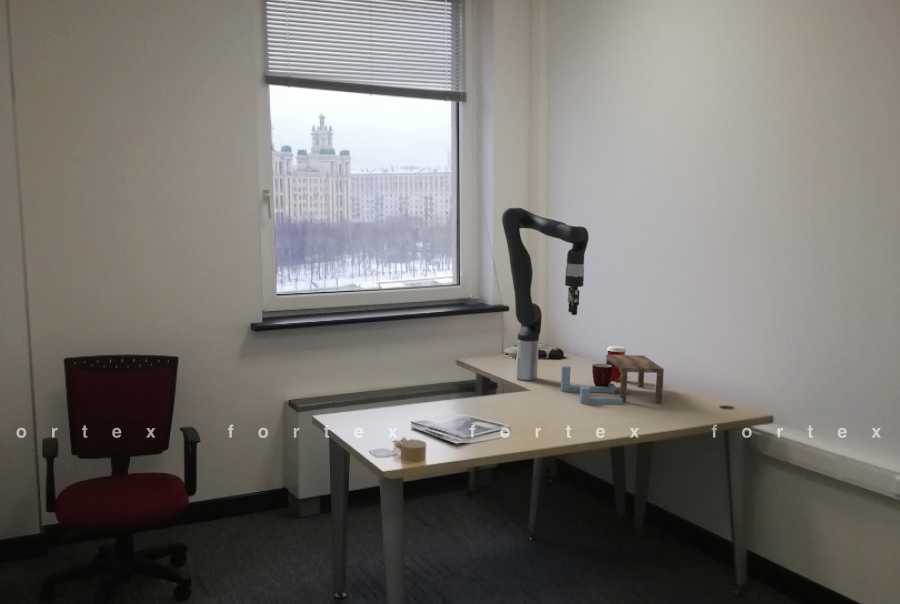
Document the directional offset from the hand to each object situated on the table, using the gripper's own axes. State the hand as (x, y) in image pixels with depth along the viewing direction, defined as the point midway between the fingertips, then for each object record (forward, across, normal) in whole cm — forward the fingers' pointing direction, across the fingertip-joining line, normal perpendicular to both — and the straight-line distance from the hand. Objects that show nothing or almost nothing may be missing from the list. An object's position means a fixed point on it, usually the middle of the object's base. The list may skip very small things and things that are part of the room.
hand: (572, 313), depth 326 cm
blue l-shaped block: (+31, +28, +8) cm, 43 cm away
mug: (+31, +3, +14) cm, 34 cm away
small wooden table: (+31, +11, +24) cm, 41 cm away
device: (+32, -76, -5) cm, 83 cm away
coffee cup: (+31, -16, +23) cm, 42 cm away
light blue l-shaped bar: (+31, +7, +7) cm, 33 cm away
